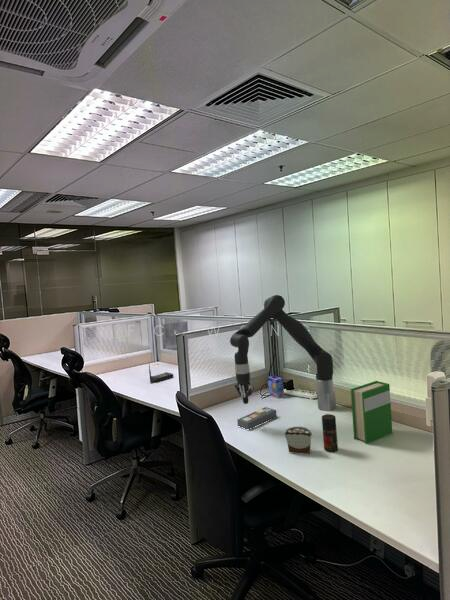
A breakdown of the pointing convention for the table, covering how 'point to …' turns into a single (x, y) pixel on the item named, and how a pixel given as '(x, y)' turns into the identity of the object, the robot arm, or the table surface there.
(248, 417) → the key sage
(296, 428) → the food container
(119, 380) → the table surface
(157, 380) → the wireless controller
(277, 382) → the ink cartridge box
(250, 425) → the keyguard
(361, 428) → the hardback book
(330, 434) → the deodorant
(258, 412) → the key sand
